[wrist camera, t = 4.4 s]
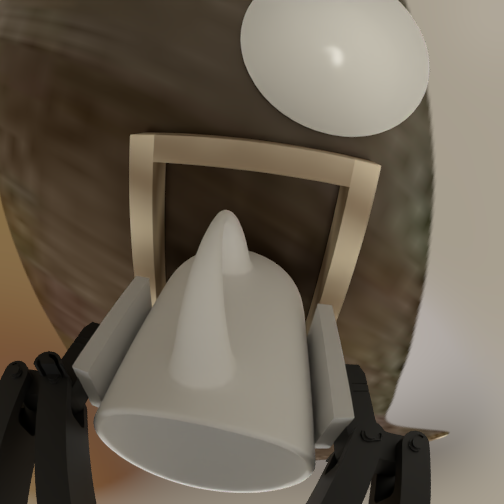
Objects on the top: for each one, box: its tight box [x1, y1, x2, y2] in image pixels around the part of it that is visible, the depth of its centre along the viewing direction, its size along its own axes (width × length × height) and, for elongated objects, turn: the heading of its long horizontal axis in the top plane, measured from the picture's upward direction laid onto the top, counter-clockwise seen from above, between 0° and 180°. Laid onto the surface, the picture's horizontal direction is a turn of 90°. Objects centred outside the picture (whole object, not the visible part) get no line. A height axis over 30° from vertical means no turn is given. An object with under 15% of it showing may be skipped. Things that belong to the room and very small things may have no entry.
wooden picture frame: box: [129, 132, 381, 336], centre depth 18 cm, size 17×14×2 cm
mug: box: [94, 210, 315, 493], centre depth 12 cm, size 9×12×11 cm
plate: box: [240, 0, 430, 137], centre depth 12 cm, size 11×11×1 cm
